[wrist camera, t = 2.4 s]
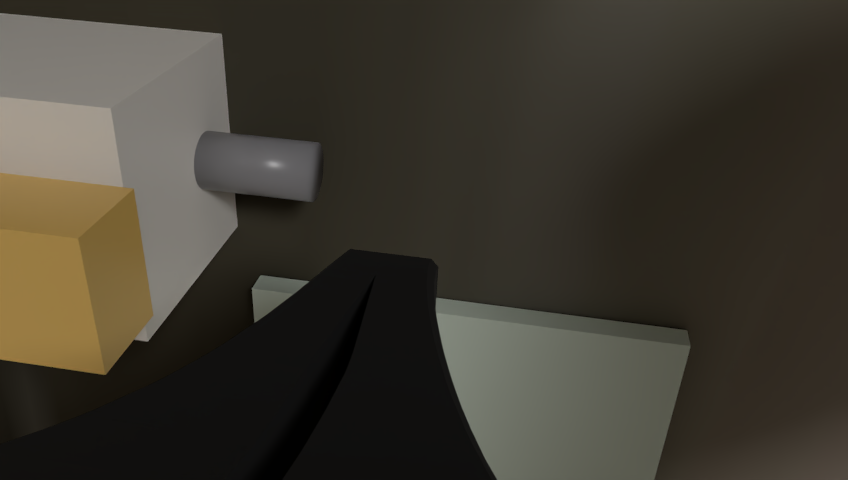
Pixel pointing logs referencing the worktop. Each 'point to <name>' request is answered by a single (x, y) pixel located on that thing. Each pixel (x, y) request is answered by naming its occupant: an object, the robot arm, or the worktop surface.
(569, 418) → the mat
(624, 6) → the worktop surface
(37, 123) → the plug
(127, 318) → the mustard yellow beam
